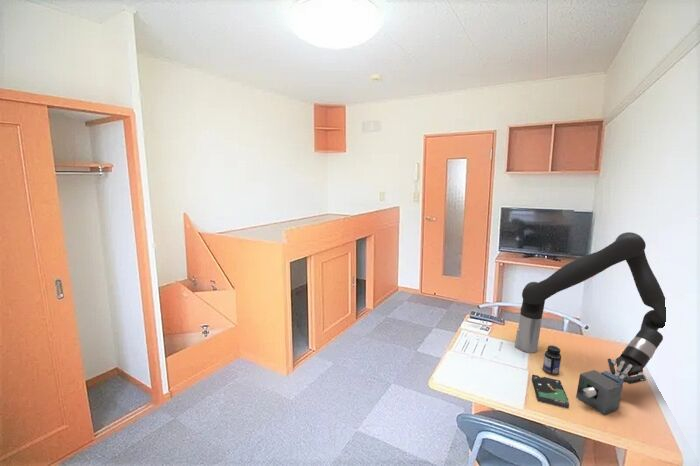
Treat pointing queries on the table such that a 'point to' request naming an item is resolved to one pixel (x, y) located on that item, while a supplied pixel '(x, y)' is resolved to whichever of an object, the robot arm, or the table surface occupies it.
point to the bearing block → (600, 392)
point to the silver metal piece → (593, 391)
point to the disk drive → (550, 391)
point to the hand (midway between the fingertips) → (613, 387)
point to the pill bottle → (552, 360)
